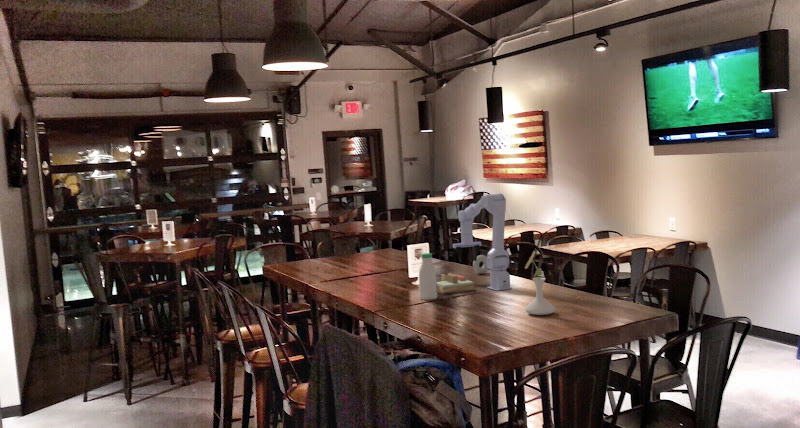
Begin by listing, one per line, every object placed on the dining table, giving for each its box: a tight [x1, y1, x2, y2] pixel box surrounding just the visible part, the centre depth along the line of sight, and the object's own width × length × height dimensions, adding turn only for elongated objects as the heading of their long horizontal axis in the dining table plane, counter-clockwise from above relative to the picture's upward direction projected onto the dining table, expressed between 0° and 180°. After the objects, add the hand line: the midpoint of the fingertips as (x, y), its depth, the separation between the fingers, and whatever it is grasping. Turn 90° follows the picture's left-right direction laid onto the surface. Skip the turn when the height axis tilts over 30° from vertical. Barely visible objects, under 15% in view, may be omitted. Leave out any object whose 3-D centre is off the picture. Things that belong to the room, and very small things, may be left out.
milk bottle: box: [418, 252, 438, 301], centre depth 300 cm, size 8×8×20 cm
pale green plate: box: [437, 273, 474, 287], centre depth 317 cm, size 10×15×4 cm
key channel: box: [440, 272, 452, 281], centre depth 330 cm, size 13×5×5 cm, turn 24°
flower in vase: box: [524, 250, 556, 316], centre depth 260 cm, size 13×11×25 cm
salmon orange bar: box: [451, 273, 467, 281], centre depth 324 cm, size 10×2×2 cm, turn 24°
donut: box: [472, 254, 489, 275], centre depth 359 cm, size 10×4×10 cm, turn 116°
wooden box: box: [437, 282, 475, 295], centre depth 317 cm, size 11×16×3 cm
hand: (467, 261), depth 339 cm, fingers open, 7 cm apart
